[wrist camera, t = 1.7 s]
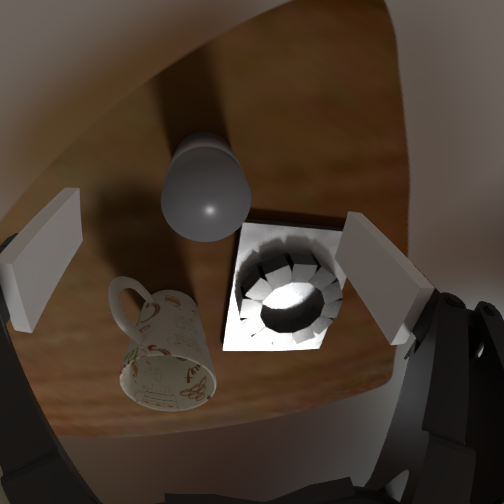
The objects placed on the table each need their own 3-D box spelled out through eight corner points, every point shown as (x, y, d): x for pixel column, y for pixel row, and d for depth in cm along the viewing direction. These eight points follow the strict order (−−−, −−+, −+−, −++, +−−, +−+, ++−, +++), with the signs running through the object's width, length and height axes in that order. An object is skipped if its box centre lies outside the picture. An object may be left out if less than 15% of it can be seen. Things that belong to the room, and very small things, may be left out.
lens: (170, 186, 27) (158, 239, 18) (175, 128, 24) (163, 152, 16) (228, 190, 28) (244, 245, 19) (237, 133, 25) (259, 161, 17)
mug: (165, 348, 36) (163, 420, 27) (90, 276, 30) (62, 346, 21) (224, 317, 35) (235, 391, 26) (150, 233, 28) (133, 301, 20)
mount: (222, 344, 37) (224, 363, 34) (241, 217, 29) (245, 232, 27) (316, 343, 39) (323, 360, 37) (356, 229, 32) (370, 242, 29)
